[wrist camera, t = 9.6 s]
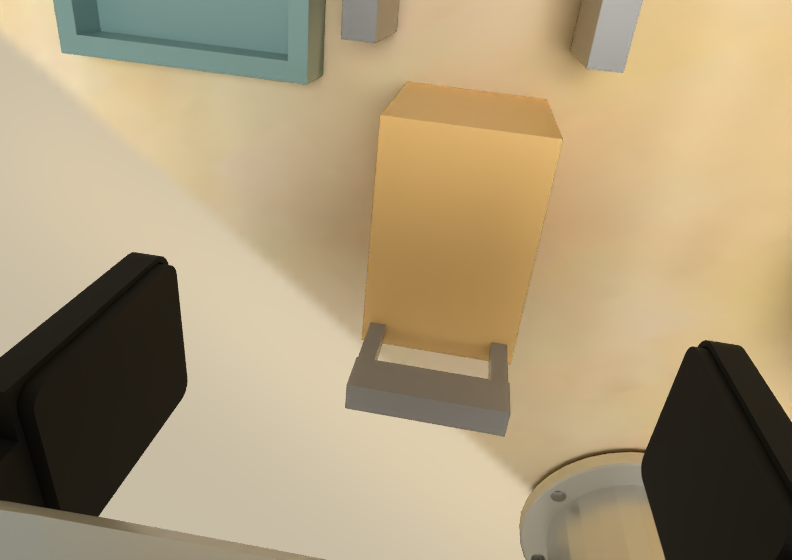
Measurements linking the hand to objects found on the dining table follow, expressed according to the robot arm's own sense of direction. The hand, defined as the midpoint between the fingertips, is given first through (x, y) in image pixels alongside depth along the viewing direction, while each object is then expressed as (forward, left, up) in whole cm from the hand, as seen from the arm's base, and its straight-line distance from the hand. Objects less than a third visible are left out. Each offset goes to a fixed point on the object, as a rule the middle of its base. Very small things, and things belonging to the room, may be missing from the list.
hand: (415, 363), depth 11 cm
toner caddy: (-3, 0, -18) cm, 18 cm away
